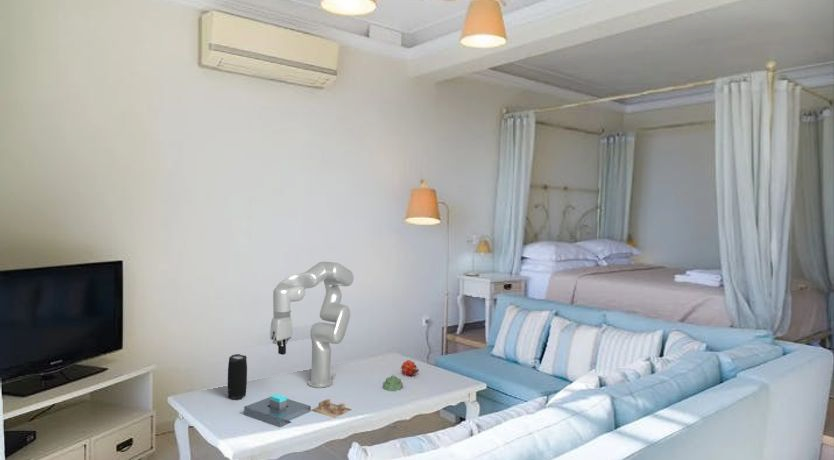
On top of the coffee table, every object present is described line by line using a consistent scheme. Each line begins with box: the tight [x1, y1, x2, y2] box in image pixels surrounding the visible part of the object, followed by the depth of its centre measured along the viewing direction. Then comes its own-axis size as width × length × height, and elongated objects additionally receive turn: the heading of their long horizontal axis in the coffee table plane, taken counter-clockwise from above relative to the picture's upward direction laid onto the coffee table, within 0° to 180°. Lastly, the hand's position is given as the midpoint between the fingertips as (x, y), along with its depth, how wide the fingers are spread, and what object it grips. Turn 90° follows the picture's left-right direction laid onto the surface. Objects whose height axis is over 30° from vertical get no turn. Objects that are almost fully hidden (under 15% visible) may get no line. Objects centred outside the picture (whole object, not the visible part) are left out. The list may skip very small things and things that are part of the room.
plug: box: [269, 393, 288, 410], centre depth 238 cm, size 4×6×8 cm, turn 58°
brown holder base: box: [311, 398, 353, 419], centre depth 243 cm, size 12×14×4 cm
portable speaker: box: [227, 353, 248, 401], centre depth 256 cm, size 9×9×20 cm
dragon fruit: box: [400, 359, 420, 378], centre depth 299 cm, size 8×8×12 cm
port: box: [243, 396, 312, 428], centre depth 238 cm, size 18×22×4 cm
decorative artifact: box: [382, 374, 404, 392], centre depth 278 cm, size 10×7×10 cm
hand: (282, 353), depth 250 cm, fingers closed
